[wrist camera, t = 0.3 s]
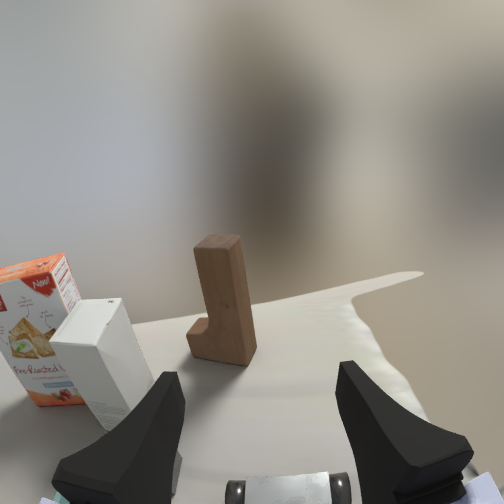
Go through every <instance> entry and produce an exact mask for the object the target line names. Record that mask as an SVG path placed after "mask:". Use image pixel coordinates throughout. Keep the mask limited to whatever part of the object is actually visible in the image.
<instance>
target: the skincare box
mask: <svg viewBox="0 0 504 504" xmlns="http://www.w3.org/2000/svg"><path fill="white" fill-rule="evenodd" d="M49 343H50V345H51V347H52V349H53V350H54V352H55V354H56V356H57V358H58V359H59V361H60V363H61V364H62V366H63V368H64V370H65V371H66V373H67V374H68V376H69V378H70V379H71V381H72V383H73V384H74V386H75V387H76V389H77V390H78V392H79V393H80V395H81V396H82V398H83V399H84V401H85V402H86V404H87V405H88V407H89V408H90V410H91V411H92V413H93V414H94V415H95V417H96V418H97V419H98V421H99V422H100V424H101V425H102V426H103V428H104V429H105V430H107V431H111V430H112V429H113V428H115V427H116V426H117V425H118V424H119V423H120V422H121V421H122V420H123V419H124V418H125V417H126V416H127V415H128V414H129V413H130V412H131V411H132V410H133V409H134V408H135V407H136V406H137V404H138V403H139V402H140V401H141V400H142V398H143V397H144V396H145V395H146V394H147V392H148V391H149V390H150V389H151V387H152V386H153V385H154V383H155V381H154V378H153V376H152V374H151V372H150V370H149V367H148V365H147V363H146V360H145V358H144V356H143V353H142V351H141V349H140V346H139V344H138V341H137V339H136V336H135V334H134V331H133V328H132V326H131V323H130V321H129V318H128V315H127V313H126V310H125V307H124V304H123V300H122V298H112V299H94V300H79V301H78V303H77V304H76V305H75V306H74V308H73V309H72V310H71V312H70V313H69V314H68V316H67V317H66V319H65V320H64V321H63V323H62V324H61V325H60V327H59V328H58V329H57V331H56V332H55V333H54V335H53V336H52V338H51V339H50V340H49Z"/></svg>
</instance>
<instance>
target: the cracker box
mask: <svg viewBox="0 0 504 504" xmlns="http://www.w3.org/2000/svg"><path fill="white" fill-rule="evenodd" d="M79 300H82V299H81V296H80V294H79V291H78V289H77V286H76V284H75V281H74V278H73V275H72V273H71V270H70V267H69V264H68V262H67V259H66V255H65V253H60V254H55V255H52V256H47V257H43V258H40V259H36V260H32V261H28V262H24V263H20V264H16V265H12V266H8V267H4V268H0V351H1V352H2V354H3V356H4V357H5V359H6V361H7V362H8V364H9V366H10V367H11V369H12V370H13V372H14V373H15V375H16V376H17V378H18V379H19V381H20V382H21V384H22V385H23V387H24V388H25V389H26V391H27V392H28V394H29V395H30V397H31V398H32V399H33V401H34V402H35V403H36V405H37V406H52V405H73V404H86V402H85V401H84V399H83V398H82V396H81V395H80V393H79V392H78V390H77V389H76V387H75V386H74V384H73V383H72V381H71V379H70V378H69V376H68V374H67V373H66V371H65V370H64V368H63V366H62V364H61V363H60V361H59V359H58V358H57V356H56V354H55V352H54V350H53V349H52V347H51V345H50V343H49V340H50V339H51V338H52V336H53V335H54V333H55V332H56V331H57V329H58V328H59V327H60V325H61V324H62V323H63V321H64V320H65V319H66V317H67V316H68V314H69V313H70V312H71V310H72V309H73V308H74V306H75V305H76V304H77V303H78V301H79Z"/></svg>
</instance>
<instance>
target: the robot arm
mask: <svg viewBox="0 0 504 504" xmlns="http://www.w3.org/2000/svg"><path fill="white" fill-rule="evenodd" d="M335 395H336V400H337V405H338V409H339V413H340V416H341V419H342V422H343V425H344V428H345V430H346V433H347V436H348V439H349V442H350V445H351V448H352V451H353V454H354V458H355V463H356V467H357V472H358V478H359V484H360V490H361V497H362V504H504V500H503V498H502V496H501V494H500V492H499V490H498V488H497V486H496V484H495V482H494V480H493V479H492V477H491V475H490V473H489V472H486V473H484V474H483V475H480V476H479V477H477V478H475V479H473V480H471V481H469V482H467V483H466V484H465V485H463V483H462V481H461V480H463V478H464V477H463V475H462V473H461V472H462V470H463V469H464V468H465V467H466V465H467V464H468V463H469V462H470V460H471V459H472V457H473V454H474V451H473V450H472V448H471V446H470V444H469V442H468V441H467V439H466V438H465V436H462V435H459V434H456V433H453V432H449V431H446V430H444V429H442V428H439V427H437V426H435V425H433V424H430V423H428V422H427V421H425V420H423V419H421V418H419V417H417V416H416V415H414V414H412V413H411V412H409V411H408V410H406V409H405V408H404V407H402V406H401V405H399V404H398V403H397V402H396V401H394V400H393V399H392V398H391V397H390V396H388V395H387V394H386V393H385V392H384V391H383V390H382V389H381V388H380V387H379V386H378V385H376V384H375V383H374V382H373V381H372V380H371V379H370V378H369V377H368V376H367V374H366V373H365V372H364V371H363V370H362V369H361V368H360V367H359V366H358V365H357V364H356V363H355V362H354V361H353V360H352V361H345V362H340V365H339V372H338V379H337V385H336V391H335ZM184 412H185V399H184V396H183V392H182V389H181V385H180V382H179V378H178V375H177V372H163V373H162V374H161V375H160V377H159V378H158V379H157V381H156V382H155V383H154V385H153V386H152V387H151V389H150V390H149V391H148V392H147V394H146V395H145V396H144V397H143V398H142V400H141V401H140V402H139V403H138V404H137V406H136V407H135V408H134V409H133V410H132V411H131V412H130V413H129V414H128V415H127V416H126V417H125V418H124V419H123V420H122V421H121V422H120V423H119V424H118V425H117V426H116V427H115V428H113V429H112V430H111V431H110V432H108V433H107V434H106V435H104V436H103V437H102V438H100V439H99V440H98V441H96V442H94V443H93V444H91V445H90V446H88V447H86V448H84V449H83V450H81V451H79V452H77V453H75V454H73V455H71V456H68V457H66V458H64V459H61V461H60V463H59V465H58V467H57V469H56V472H55V474H54V477H53V479H52V482H51V483H52V485H53V487H54V488H55V489H56V490H57V491H58V492H59V493H60V494H61V495H62V496H63V497H64V498H65V499H66V500H67V501H69V502H70V504H171V493H172V479H173V468H174V462H175V457H176V452H177V448H178V444H179V439H180V435H181V430H182V426H183V421H184ZM39 504H60V503H57V502H54V501H52V500H49V499H46V498H44V497H42V498H41V500H40V503H39Z"/></svg>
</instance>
